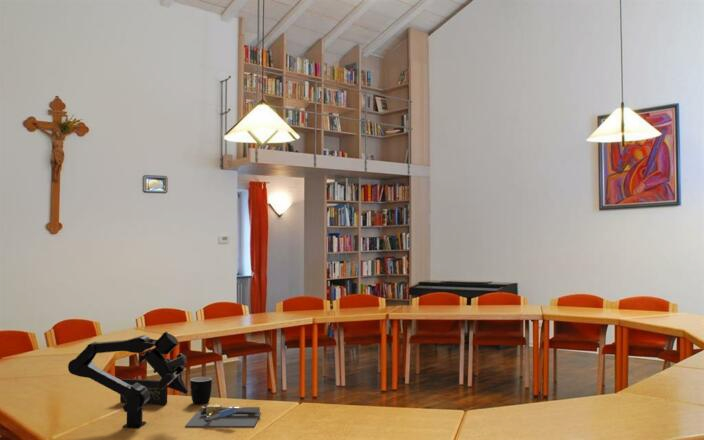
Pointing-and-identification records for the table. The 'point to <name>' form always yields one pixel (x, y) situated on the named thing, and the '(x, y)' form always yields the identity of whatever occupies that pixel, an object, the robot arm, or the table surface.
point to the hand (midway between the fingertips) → (186, 392)
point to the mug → (201, 390)
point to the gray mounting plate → (224, 421)
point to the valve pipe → (216, 408)
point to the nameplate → (155, 393)
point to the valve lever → (221, 414)
